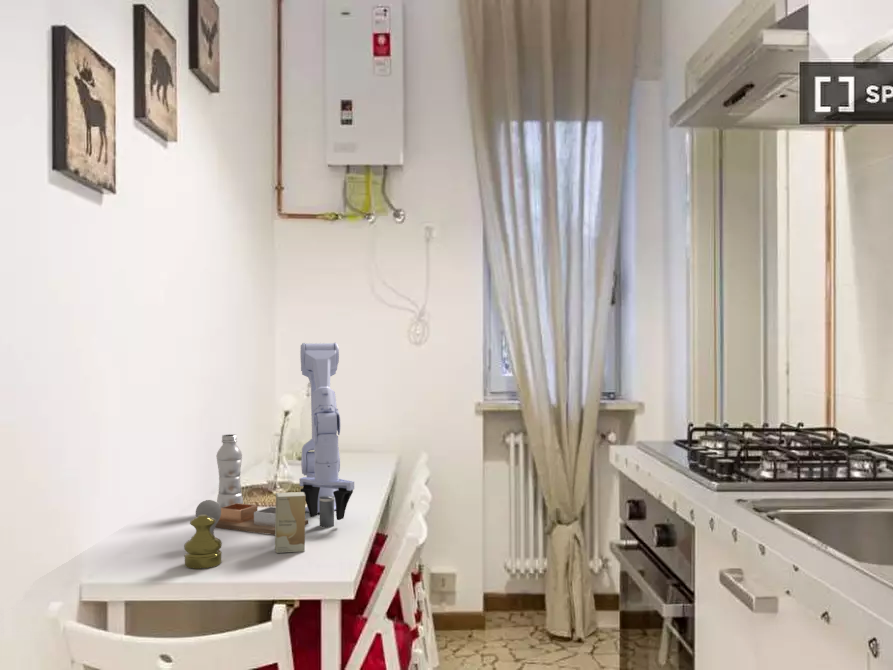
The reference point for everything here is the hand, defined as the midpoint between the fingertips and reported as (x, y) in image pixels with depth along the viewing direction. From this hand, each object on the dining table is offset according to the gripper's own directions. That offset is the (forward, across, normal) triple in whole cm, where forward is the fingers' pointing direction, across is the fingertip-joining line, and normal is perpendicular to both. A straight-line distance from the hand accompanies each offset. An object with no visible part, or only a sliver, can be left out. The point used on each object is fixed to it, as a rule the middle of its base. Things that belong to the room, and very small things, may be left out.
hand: (326, 517), depth 200 cm
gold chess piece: (+2, -5, -38) cm, 38 cm away
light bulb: (+2, -14, -26) cm, 30 cm away
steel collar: (+1, -11, -6) cm, 13 cm away
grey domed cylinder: (+2, 0, 0) cm, 2 cm away
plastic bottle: (+2, -32, +3) cm, 32 cm away
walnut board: (+2, -16, -6) cm, 17 cm away
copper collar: (+2, -22, -6) cm, 23 cm away
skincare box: (+2, +5, -22) cm, 23 cm away
